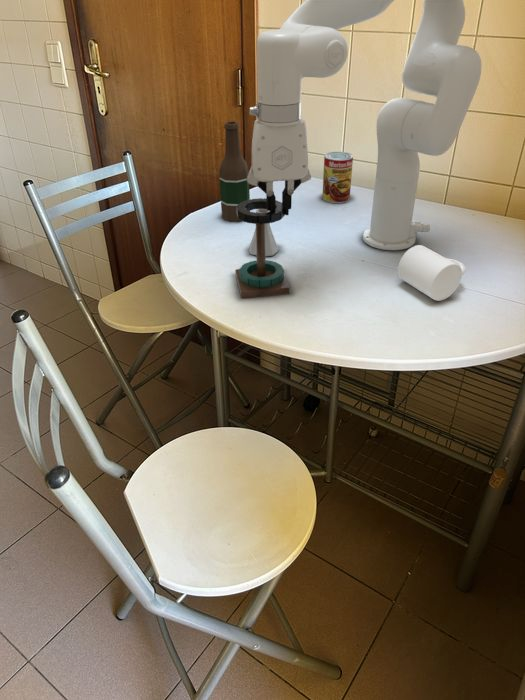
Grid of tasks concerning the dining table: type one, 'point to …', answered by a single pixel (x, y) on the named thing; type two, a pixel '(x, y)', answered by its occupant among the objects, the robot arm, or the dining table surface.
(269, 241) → the flask
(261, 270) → the stand
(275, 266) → the teal ring
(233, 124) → the beer bottle
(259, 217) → the graphite ring
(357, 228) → the dining table surface
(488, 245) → the dining table surface
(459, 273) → the mug
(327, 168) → the canned food
